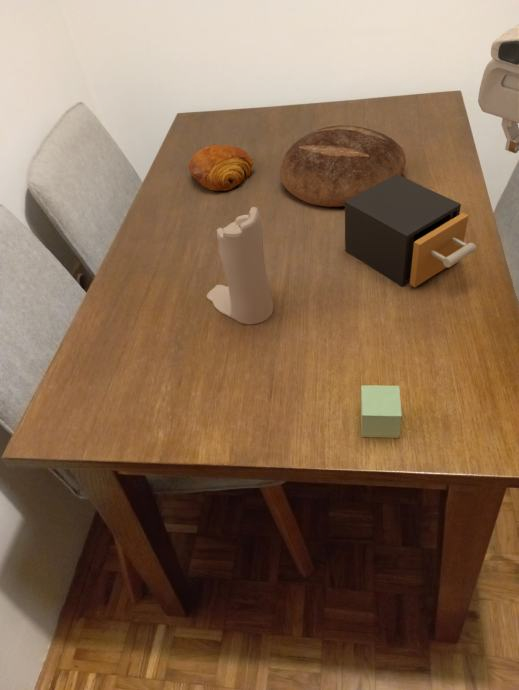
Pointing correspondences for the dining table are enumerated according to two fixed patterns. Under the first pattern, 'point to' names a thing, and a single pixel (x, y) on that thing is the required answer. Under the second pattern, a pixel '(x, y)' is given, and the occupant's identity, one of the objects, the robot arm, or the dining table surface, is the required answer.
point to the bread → (339, 164)
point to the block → (380, 411)
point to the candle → (243, 272)
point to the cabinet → (392, 223)
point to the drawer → (437, 248)
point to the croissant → (220, 166)
